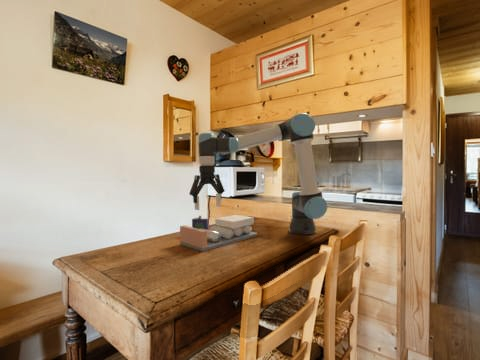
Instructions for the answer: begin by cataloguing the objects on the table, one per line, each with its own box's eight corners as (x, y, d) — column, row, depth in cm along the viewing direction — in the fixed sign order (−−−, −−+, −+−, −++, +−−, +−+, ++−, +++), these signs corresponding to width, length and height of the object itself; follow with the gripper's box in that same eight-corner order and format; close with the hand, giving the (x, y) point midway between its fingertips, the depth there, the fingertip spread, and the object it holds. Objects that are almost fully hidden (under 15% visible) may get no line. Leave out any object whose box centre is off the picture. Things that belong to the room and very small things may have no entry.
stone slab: (254, 223, 148) (254, 217, 148) (233, 228, 137) (233, 221, 137) (236, 220, 158) (236, 214, 158) (215, 225, 146) (215, 218, 146)
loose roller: (221, 241, 132) (220, 231, 131) (213, 243, 128) (212, 233, 128) (204, 236, 141) (204, 227, 140) (197, 239, 137) (196, 229, 137)
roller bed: (258, 235, 148) (258, 219, 147) (202, 251, 121) (202, 231, 120) (235, 230, 160) (235, 215, 160) (180, 244, 133) (179, 226, 133)
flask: (208, 233, 154) (208, 215, 154) (207, 235, 151) (207, 216, 151) (192, 233, 155) (192, 215, 154) (191, 235, 152) (191, 216, 151)
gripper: (220, 165, 144) (222, 204, 145) (181, 165, 127) (182, 210, 127) (230, 164, 139) (231, 205, 140) (190, 165, 121) (191, 212, 122)
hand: (208, 208), depth 134 cm, fingers open, 13 cm apart
